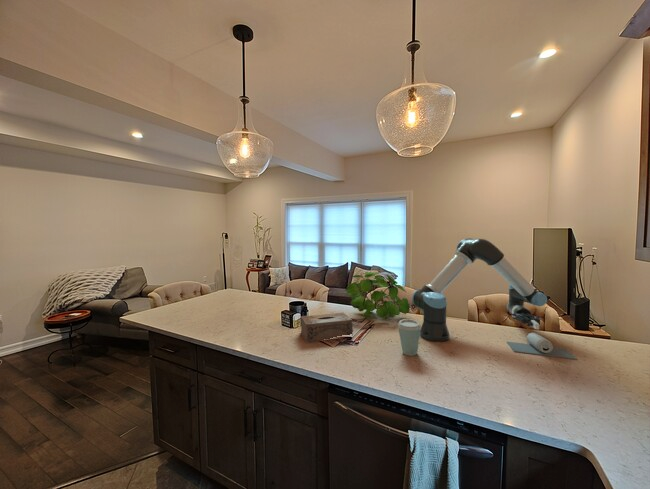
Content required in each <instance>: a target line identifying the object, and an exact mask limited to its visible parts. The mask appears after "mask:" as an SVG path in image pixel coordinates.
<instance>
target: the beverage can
mask: <svg viewBox="0 0 650 489" xmlns="http://www.w3.org/2000/svg"><path fill="white" fill-rule="evenodd" d="M526 341H527V344H531V345H532V346H533V347H535V348H536V349H538V350H539V351H540V352H543V353H549V352H551V351H552V350H553V347H554V346H553V344H552V342H551V341H550V340H548V339H547V338H546V337H544V336H542V335H541V334H539V333H536V332H529V333H528V334H527V336H526Z"/></svg>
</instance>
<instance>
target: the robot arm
mask: <svg viewBox="0 0 650 489" xmlns="http://www.w3.org/2000/svg"><path fill="white" fill-rule="evenodd" d="M476 260H480V261H482V262H484V263H485V264H487V266H489V267H490V266H491V267H492V268H493V269H494V270H495V271H496V272H497V273H498V274H499V275H500V276H501V277H502V278H503V279H504V280H505V281H506V282H507V283H509V285H508V286H509V288H508V303H507V304H506V309H507V310H508V312H509V314H511V315H512V316H511V317H512V319H514V320H516V321H518V322H519V323H521V324H523V325H527V327H532V328H533V329H534V330H540V326H541V316H540V315H534V314H532V312H531V311H530V310H528V309H527V307H525V303H527V304H531V305H533V306H537V307H543V306H545V305H546V304H547V302H548V297H547V294H546V293H543V292H541V291H538V290H537V289H536V288H535V287H534V286H533V285H532V284H531V283H530V282H529V281H528V280H527V279H526V278H525V277H524V276H523V275H522V274H521V273H520V271H518V270H517V269H516V268H515V267H514V266H513V265H512V264H511V263H510V262H509V261H508V260H507V259H506V257H505V254H504V253H503V252H502V251H501V250H500V248H498V247H497V246H496V245H495V244H494V243H492V242H491V241H489V240H487V239H484V238H471V237H470V238H464V239H462V240H460V241H459V242H458V243H457V245H456V250H455V251H454V256H453V257H451V259H450V261H448V263H446V265H445V266H444V267H443V268H442V269H441V270H440V272H439V273H438V274H437V275H436V276H435V277H434V278H433V279H432V281H430V283H429V284H424V285H423V287H421V288H419V289H416V290H415V291H414V292H413V293H412V296H411V300H412V304H413V305H414V306H415V307H416V308H417V309H418V310H419V311H422V312H423V320H422V324H421V329H420V335H419V337H421V338H422V339H424V340H427V341H430V342H437V343H439V342H447V341H450V339H451V338H450V332H449V328H448V326H447V308H448V307H447V305H448V303H447V302H448V301H447V297H446V295H444V294H443V292H444V291H445V290H446V289H447V288H448V287H449V286H450V285H451V283H452V282H453V281H455V279H456V278H457V277H458V276H459V275H460V273H461V272H462V271H463V270H464V269H465V268H466V267H467V266H469V265H472V264H473V263H474V262H475V261H476Z"/></svg>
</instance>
